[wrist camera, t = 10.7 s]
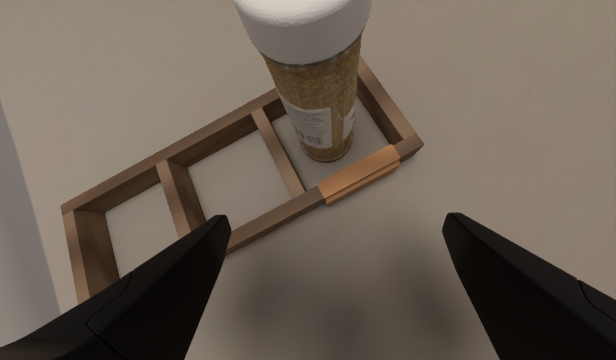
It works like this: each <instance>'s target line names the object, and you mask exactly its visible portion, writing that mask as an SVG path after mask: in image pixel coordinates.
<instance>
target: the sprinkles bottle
mask: <svg viewBox="0 0 616 360" xmlns="http://www.w3.org/2000/svg"><path fill="white" fill-rule="evenodd" d="M371 1H372V0H233V2H234V4H235V6H236V9H237V11H238V13H239V16H240V18H241V20H242V23H243V25H244V27H245V29H246V31H247V33H248V35H249V37H250V39H251V41H252V43H253V44H254V46H255V47H256V48H257V49H258V50H259V52H260V53H261V55H262V56H263V57H264V60H265V62H266V64H267V66H268V68H269V71H270V73H271V75H272V78H273V80H274V82H275V87H276V89H277V92H278V94H279V96H280V98H281V101H282V103H283V105H284V107H285V110H286V112H287V114H288V116H289V118H290V120H291V122H292V124H293V127H294V129H295V131H296V133H297V135H298V136H299V138H300V142H301V146H302V148H303V150H304V151H305V152H306V154H307V155H308V156H310V157H311V158H312V159H314V160H317V161H321V162H329V161H333V160H336V159H339V158H341V157H342V156H343V155H344V154H345V153H346V152H347V151H348V149H349V147H350V146H351V143H352V136H353V135H352V127H353V122H354V113H355V104H356V92H357V72H358V64H359V55H360V47H361V36H362V32H363V30H364V27H365V25H366V23H367V20H368V18H369V14H370V8H371Z"/></svg>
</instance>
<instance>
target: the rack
mask: <svg viewBox="0 0 616 360" xmlns="http://www.w3.org/2000/svg"><path fill="white" fill-rule="evenodd" d="M356 94H357V96H358V97H359V99H360V100H361V102H362V103H363V105H364V106H365V108H366V109H367V110H368V112H369V113H370V115H371V116H372V118H373V119H374V121H375V122H376V124H377V125H378V127H379V128H380V130H381V131H382V133H383V134H384V136H385V137H386V139H387V140H388V142H389V143H390V145H388V146H386V147H384V148H382V149H381V150H379V151H377V152H375V153H373V154H371V155H369V156H367V157H366V158H364V159H362V160H360V161H358V162H356V163H354V164H352V165H351V166H349V167H347V168H345V169H343V170H341V171H339V172H337V173H336V174H334V175H332V176H330V177H328V178H326V179H324V180H322V181H321V182H319V183H317V186H316V187H314V188H312V189H310V190H309V191H306V189H305V187H304V185H303V183H302V181H301V179H300V177H299V175H298V173H297V171H296V169H295V168H294V166H293V164H292V162H291V160H290V158H289V156H288V154H287V152H286V150H285V148H284V146H283V144H282V142H281V140H280V139H279V137H278V135H277V133H276V131H275V129H274V127H273V125H272V123H271V121H273V120H275V119H277V118H279V117H280V116H282V115H284V114H286V113H287V112H286V110H285V107H284V105H283V103H282V101H281V98H280V96H279V94H278V92H277V89H276V88H274V89H272V90H270V91H269V92H267V93H265V94H263V95H261V96H259V97H258V98H256V99H254V100H252V101H250V102H248V103H247V104H245V105H243V106H241V107H239V108H237V109H236V110H234V111H232V112H230V113H228V114H227V115H225V116H223V117H221V118H219V119H217V120H216V121H214V122H212V123H210V124H208V125H206V126H205V127H203V128H201V129H199V130H197V131H195V132H194V133H192V134H190V135H188V136H186V137H184V138H183V139H181V140H179V141H177V142H175V143H173V144H172V145H170V146H168V147H166V148H164V149H163V150H161V151H159V152H157V153H155V154H153V155H152V156H150V157H148V158H146V159H144V160H142V161H141V162H139V163H137V164H135V165H133V166H131V167H130V168H128V169H126V170H124V171H122V172H120V173H119V174H117V175H115V176H113V177H111V178H110V179H108V180H106V181H104V182H102V183H100V184H99V185H97V186H95V187H93V188H91V189H89V190H88V191H86V192H84V193H82V194H80V195H78V196H77V197H75V198H73V199H71V200H69V201H67V202H66V203H64V204H62V205H61V211H62V216H63V222H64V227H65V233H66V238H67V244H68V250H69V255H70V261H71V266H72V272H73V277H74V283H75V288H76V294H77V300H78V305H79V304H81V303H82V302H84V301H86V300H87V299H89V298H91V297H92V296H94V295H95V294H97V293H99V292H100V291H102V290H104V289H105V288H107V287H108V286H110V285H111V284H113V283H114V282H116V281H117V280H119V275H118V271H117V267H116V262H115V258H114V254H113V250H112V245H111V241H110V237H109V233H108V228H107V224H106V220H105V216H104V212H106V211H107V210H109V209H111V208H113V207H115V206H117V205H118V204H120V203H122V202H124V201H126V200H128V199H130V198H131V197H133V196H135V195H137V194H139V193H141V192H142V191H144V190H146V189H148V188H150V187H152V186H153V185H155V184H157V183H159V182H161V183H162V186H163V190H164V193H165V196H166V199H167V202H168V205H169V208H170V211H171V214H172V217H173V220H174V223H175V227H176V230H177V233H178V236H179V239H181V238H182V237H184V236H185V235H187V234H188V233H190V232H191V231H193V230H194V229H196V228H197V227H199V226H200V225H202V224H203V223H205V222H206V220H205V217H204V214H203V211H202V209H201V206H200V203H199V200H198V198H197V195H196V192H195V189H194V187H193V184H192V181H191V179H190V176H189V173H188V170H187V167H188V166H190V165H192V164H194V163H196V162H198V161H199V160H201V159H203V158H205V157H207V156H209V155H211V154H212V153H214V152H216V151H218V150H220V149H222V148H223V147H225V146H227V145H229V144H231V143H233V142H234V141H236V140H238V139H240V138H242V137H244V136H245V135H247V134H249V133H251V132H253V131H255V130H257V129H259V131H260V133H261V135H262V137H263V139H264V141H265V143H266V145H267V147H268V149H269V151H270V153H271V155H272V157H273V159H274V161H275V163H276V165H277V167H278V169H279V171H280V173H281V175H282V177H283V179H284V181H285V183H286V185H287V187H288V189H289V192H290V194H291V196H292V198H293V199H292V200H290V201H288V202H286V203H284V204H282V205H280V206H279V207H277V208H275V209H273V210H271V211H269V212H267V213H265V214H264V215H262V216H260V217H258V218H256V219H254V220H252V221H250V222H249V223H247V224H245V225H243V226H241V227H239V228H237V229H235V230H234V231H232V232H231V236H230V240H229V243H228V247H227V250H226V254H225V255H227V254H229V253H231V252H233V251H235V250H237V249H239V248H241V247H242V246H244V245H246V244H248V243H250V242H252V241H254V240H256V239H257V238H259V237H261V236H263V235H265V234H267V233H269V232H271V231H273V230H274V229H276V228H278V227H280V226H282V225H284V224H286V223H288V222H289V221H291V220H293V219H295V218H297V217H299V216H301V215H303V214H305V213H306V212H308V211H310V210H312V209H314V208H316V207H318V206H320V205H322V204H323V203H325V202H326V203H327V205H328V206H329V205H331V204H333V203H335V202H337V201H338V200H340V199H342V198H344V197H346V196H348V195H350V194H352V193H354V192H355V191H357V190H359V189H361V188H363V187H365V186H367V185H369V184H371V183H372V182H374V181H376V180H378V179H380V178H382V177H384V176H386V175H387V174H389V173H391V172H393V171H395V170H396V169H397V168H398V167H399V166H400V165H401V162H403V161H404V160H406V159H408V158H410V157H412V156H413V155H414V154H415V153H416V152H417V151H418V150H419V149H420V148H421V147H422V146H423V145H424V143H423V142H422V140H421V139H420V138H419V136H418V135H417V133H416V132H415V131H414V129H413V128H412V127H411V125H410V124H409V122H408V121H407V120H406V118H405V117H404V115H403V114H402V113H401V111H400V110H399V109H398V107H397V106H396V104H395V103H394V102H393V100H392V99H391V97H390V96H389V95H388V93H387V92H386V91H385V89H384V88H383V86H382V85H381V84H380V82H379V81H378V79H377V78H376V77H375V75H374V74H373V73H372V71H371V70H370V68H369V67H368V66H367V64H366V63H365V61H364V60H363V59H362V57H361V56H360V55H359V64H358V72H357V92H356Z"/></svg>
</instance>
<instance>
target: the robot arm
mask: <svg viewBox="0 0 616 360" xmlns="http://www.w3.org/2000/svg"><path fill="white" fill-rule="evenodd" d="M442 233H443V236H444V239H445V242H446V245H447V247H448V250H449V253H450V256H451V258H452V261H453V264H454V267H455V269H456V271H457V274H458V276H459V278H460V280H461V282H462V284H463V286H464V288H465V290H466V292H467V294H468V296H469V298H470V300H471V302H472V304H473V306H474V308H475V310H476V312H477V314H478V316H479V318H480V320H481V322H482V324H483V326H484V328H485V330H486V332H487V334H488V337H489V339H490V341H491V343H492V345H493V347H494V349H495V351H496V353H497V355H498V357H499V359H500V360H616V300H615V299H613V298H611V297H609V296H608V295H606V294H604V293H602V292H600V291H598V290H597V289H595V288H593V287H591V286H590V285H588V284H586V283H584V282H583V281H581V280H577V278H575V277H574V276H572V275H570V274H568V273H566V272H565V271H563V270H561V269H559V268H558V267H556V266H554V265H552V264H551V263H549V262H547V261H545V260H543V259H542V258H540V257H538V256H536V255H535V254H533V253H531V252H529V251H527V250H526V249H524V248H522V247H520V246H519V245H517V244H515V243H513V242H511V241H510V240H508V239H506V238H504V237H503V236H501V235H499V234H497V233H495V232H494V231H492V230H490V229H488V228H487V227H485V226H483V225H481V224H480V223H478V222H476V221H474V220H472V219H471V218H469V217H467V216H465V215H464V214H462V213H448V214H447V216H446V218H445V222H444V225H443V228H442ZM230 236H231V227H230V224H229V221H228V218H227V216H226V215H215V216H214V217H212V218H211V219H209V220H208V221H206V222H205V223H203V224H202V225H200V226H199V227H197V228H196V229H194V230H193V231H191V232H190V233H188V234H187V235H185V236H184V237H182V238H181V239H179V240H178V241H176V242H175V243H173V244H172V245H170V246H169V247H167V248H166V249H164V250H163V251H161V252H160V253H158V254H157V255H155V256H154V257H152V258H151V259H149V260H148V261H146V262H145V263H143V264H142V265H140V266H139V267H137V268H136V269H134V270H133V271H131V272H129V273H128V274H127V275H125V276H124V277H122V278H121V279H119V280H117V281H116V282H114V283H113V284H111V285H110V286H108V287H107V288H105V289H104V290H102V291H100V292H99V293H97V294H95V295H94V296H92V297H91V298H89V299H87V300H86V301H84V302H82V303H81V304H79V305H77V306H76V307H74V308H72V309H71V310H69V311H67V312H66V313H64V314H62V315H61V316H59V317H57V318H56V319H54V320H52V321H51V322H49V323H48V324H46V325H44V326H43V327H41V328H39V329H37V330H36V331H34V332H32V333H30V334H29V335H27V336H25V337H23V338H21V339H19V340H17V341H15V342H12V343H10V344H8V345H5V346H3V347H0V360H184V359H185V356H186V354H187V351H188V349H189V347H190V344H191V342H192V339H193V337H194V334H195V332H196V329H197V327H198V324H199V322H200V319H201V317H202V314H203V312H204V309H205V307H206V305H207V302H208V300H209V297H210V295H211V292H212V290H213V287H214V285H215V282H216V280H217V277H218V275H219V272H220V270H221V267H222V264H223V261H224V257H225V254H226V250H227V247H228V243H229V240H230Z"/></svg>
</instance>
